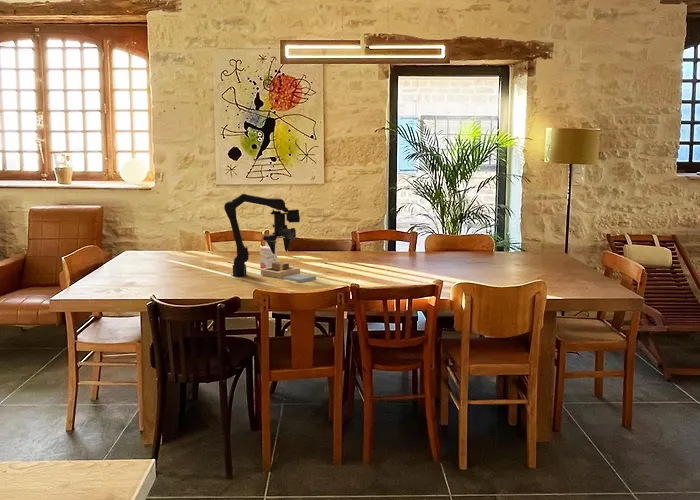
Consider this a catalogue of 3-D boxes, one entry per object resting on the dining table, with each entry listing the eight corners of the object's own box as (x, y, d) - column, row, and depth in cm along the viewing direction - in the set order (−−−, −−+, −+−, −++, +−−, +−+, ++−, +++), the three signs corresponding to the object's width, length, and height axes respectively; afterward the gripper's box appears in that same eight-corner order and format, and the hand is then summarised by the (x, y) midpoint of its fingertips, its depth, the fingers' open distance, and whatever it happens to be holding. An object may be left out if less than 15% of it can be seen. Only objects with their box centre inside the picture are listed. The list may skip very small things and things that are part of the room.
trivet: (299, 282, 373) (299, 279, 372) (282, 279, 380) (282, 276, 380) (316, 279, 381) (316, 276, 381) (299, 276, 389) (299, 273, 389)
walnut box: (282, 276, 387) (282, 264, 386) (272, 274, 392) (271, 262, 391) (289, 274, 390) (288, 263, 389) (278, 272, 396) (278, 261, 395)
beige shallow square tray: (279, 279, 380) (278, 272, 380) (259, 275, 390) (259, 268, 390) (301, 274, 393) (301, 267, 392) (282, 271, 402) (281, 264, 402)
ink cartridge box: (259, 268, 412) (259, 241, 409) (265, 266, 416) (264, 240, 414) (272, 269, 407) (271, 242, 405) (277, 268, 412) (277, 241, 409)
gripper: (277, 225, 375) (278, 256, 378) (303, 222, 389) (303, 252, 392) (262, 224, 382) (262, 254, 385) (288, 220, 396) (288, 249, 399)
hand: (280, 252), depth 390 cm, fingers open, 9 cm apart
